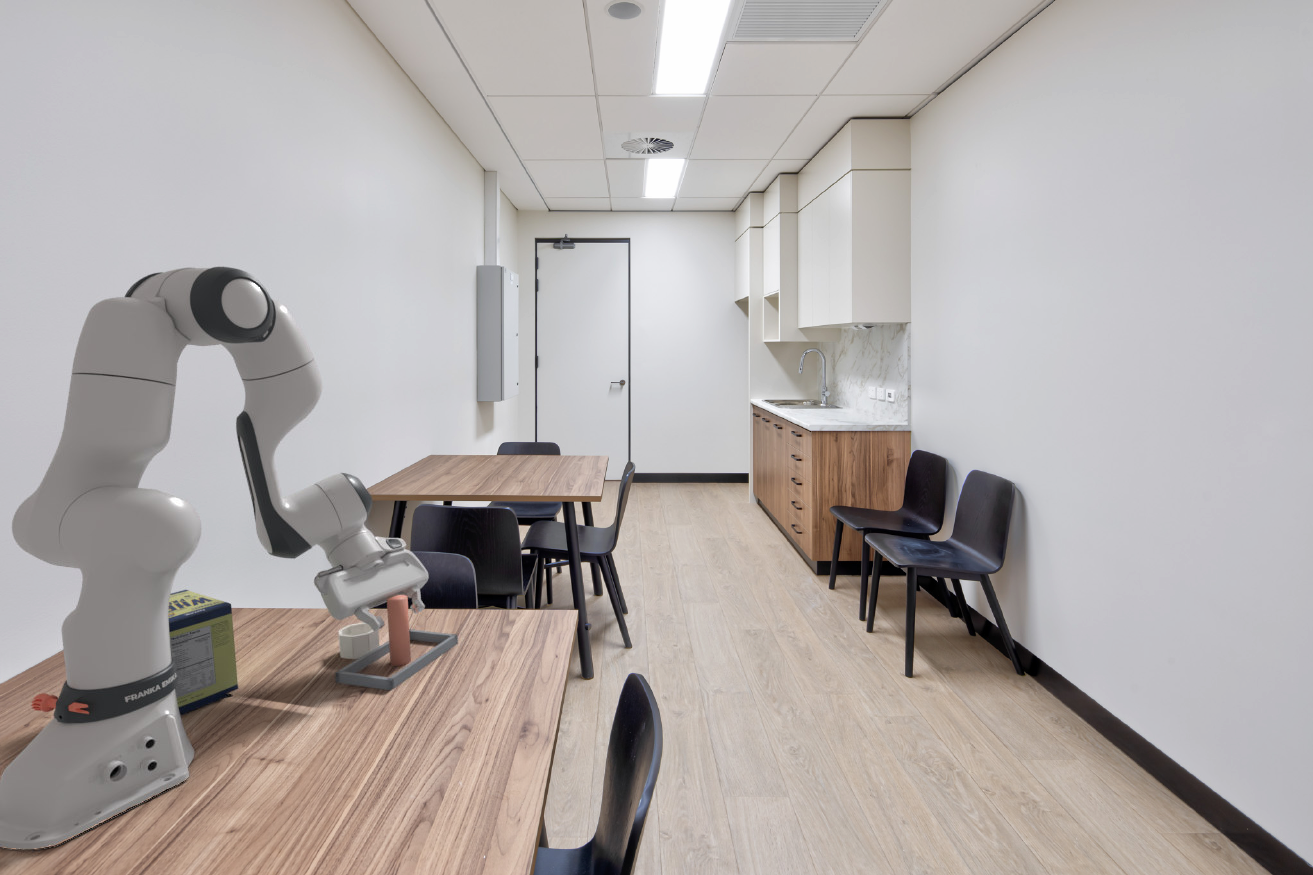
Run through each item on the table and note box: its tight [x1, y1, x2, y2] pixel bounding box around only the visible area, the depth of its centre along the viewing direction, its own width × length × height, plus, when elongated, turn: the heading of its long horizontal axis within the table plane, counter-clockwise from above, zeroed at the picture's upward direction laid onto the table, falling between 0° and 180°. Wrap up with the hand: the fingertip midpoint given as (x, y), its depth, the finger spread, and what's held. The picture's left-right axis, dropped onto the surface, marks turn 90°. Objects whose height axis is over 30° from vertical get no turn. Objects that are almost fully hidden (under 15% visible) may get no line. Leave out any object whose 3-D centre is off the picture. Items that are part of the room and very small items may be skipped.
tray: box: [334, 628, 459, 691], centre depth 126 cm, size 20×11×2 cm, turn 164°
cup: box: [338, 622, 380, 660], centre depth 130 cm, size 7×7×5 cm
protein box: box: [168, 589, 239, 716], centre depth 115 cm, size 10×16×16 cm
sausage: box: [386, 595, 412, 667], centre depth 125 cm, size 4×4×12 cm
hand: (400, 619), depth 125 cm, fingers open, 8 cm apart
